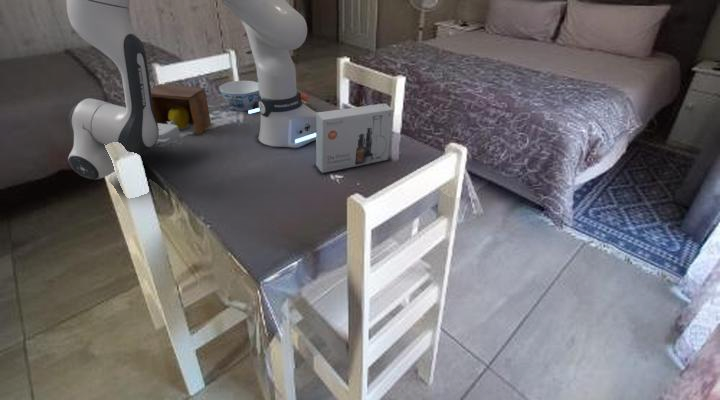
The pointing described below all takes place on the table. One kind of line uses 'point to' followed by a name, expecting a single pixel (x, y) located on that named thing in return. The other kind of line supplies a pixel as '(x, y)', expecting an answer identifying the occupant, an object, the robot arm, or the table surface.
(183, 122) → the yellow lemon
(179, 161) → the table surface
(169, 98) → the cabinet
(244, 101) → the chinaware
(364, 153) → the skincare box
